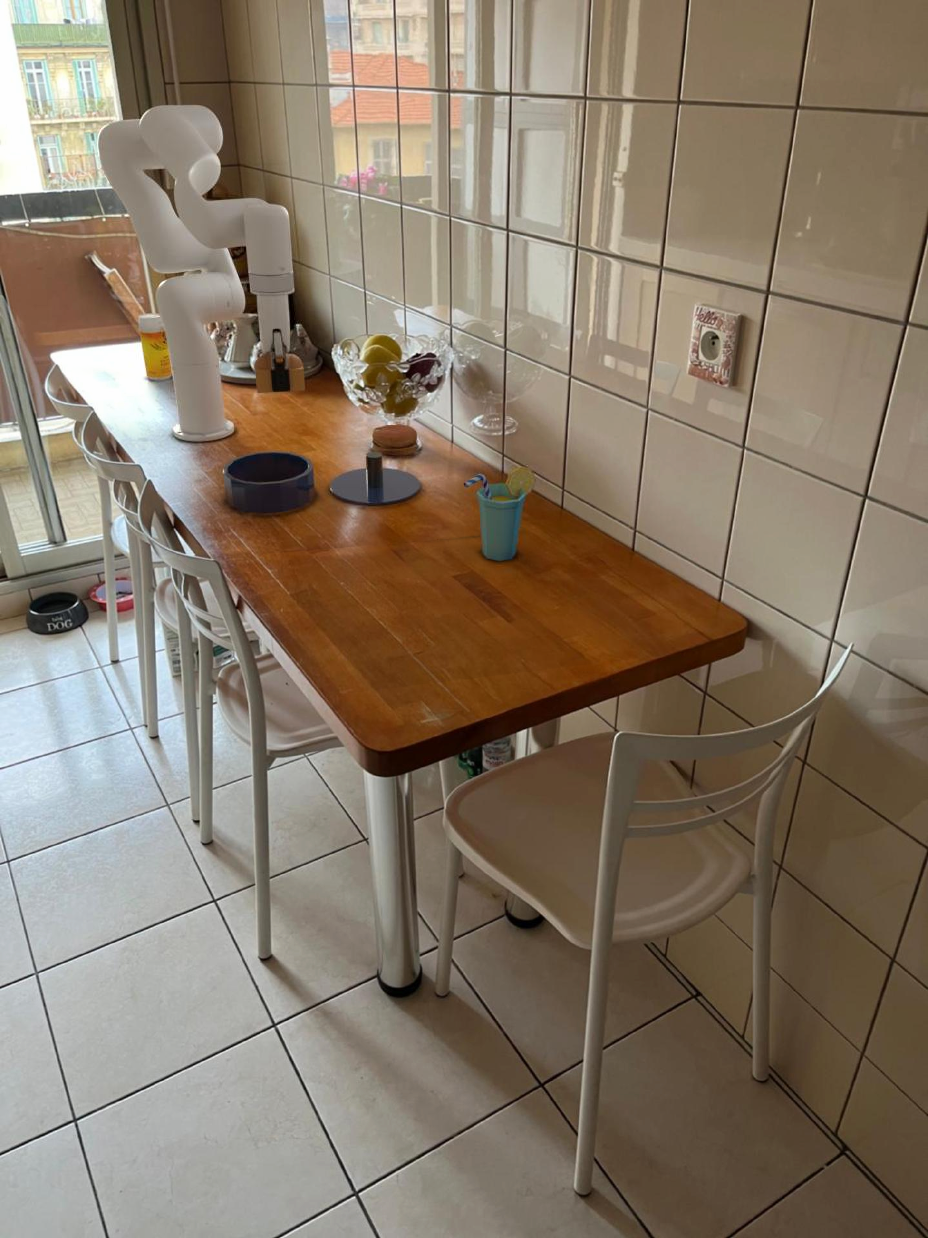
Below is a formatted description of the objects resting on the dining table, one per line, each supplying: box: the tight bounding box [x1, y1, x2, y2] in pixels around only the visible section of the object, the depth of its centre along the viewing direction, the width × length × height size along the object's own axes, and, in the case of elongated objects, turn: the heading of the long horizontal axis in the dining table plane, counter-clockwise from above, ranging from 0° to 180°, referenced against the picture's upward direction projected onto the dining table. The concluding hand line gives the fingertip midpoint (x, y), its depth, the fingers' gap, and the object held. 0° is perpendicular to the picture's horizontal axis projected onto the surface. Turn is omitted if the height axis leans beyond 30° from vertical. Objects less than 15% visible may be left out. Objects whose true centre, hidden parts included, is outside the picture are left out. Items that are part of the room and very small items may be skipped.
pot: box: [222, 450, 316, 514], centre depth 165 cm, size 16×16×6 cm
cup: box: [463, 465, 536, 562], centre depth 145 cm, size 14×8×15 cm, turn 133°
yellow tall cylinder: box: [137, 312, 173, 381], centre depth 225 cm, size 6×6×15 cm
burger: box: [371, 423, 419, 456], centre depth 187 cm, size 10×9×5 cm
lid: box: [329, 451, 421, 506], centre depth 169 cm, size 17×17×7 cm
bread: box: [253, 353, 306, 394], centre depth 167 cm, size 9×6×6 cm, turn 103°
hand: (280, 384), depth 168 cm, fingers closed on bread, 5 cm apart
